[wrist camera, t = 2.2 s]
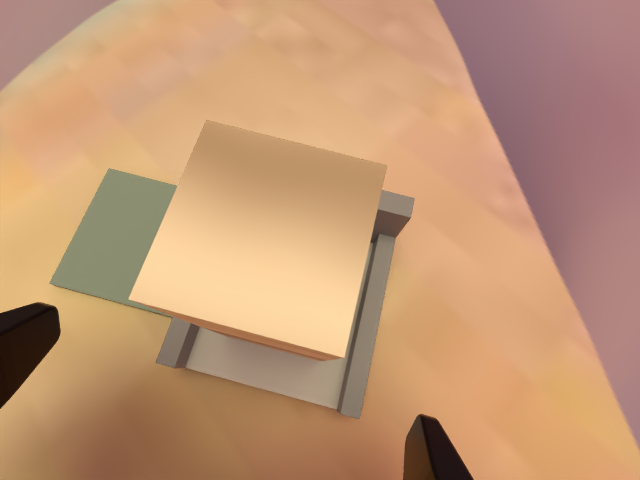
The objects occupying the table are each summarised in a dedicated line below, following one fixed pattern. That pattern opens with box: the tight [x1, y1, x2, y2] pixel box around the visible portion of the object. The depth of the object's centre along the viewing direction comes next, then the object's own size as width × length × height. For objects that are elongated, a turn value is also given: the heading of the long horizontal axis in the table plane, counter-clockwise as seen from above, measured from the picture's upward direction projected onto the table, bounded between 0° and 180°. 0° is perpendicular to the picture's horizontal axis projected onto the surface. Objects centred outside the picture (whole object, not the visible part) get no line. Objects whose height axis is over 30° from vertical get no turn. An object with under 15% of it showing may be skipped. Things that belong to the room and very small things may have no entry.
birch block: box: [128, 120, 387, 362], centre depth 13 cm, size 4×4×10 cm
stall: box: [156, 190, 415, 419], centre depth 17 cm, size 9×9×6 cm
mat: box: [49, 168, 177, 317], centre depth 20 cm, size 7×7×1 cm
